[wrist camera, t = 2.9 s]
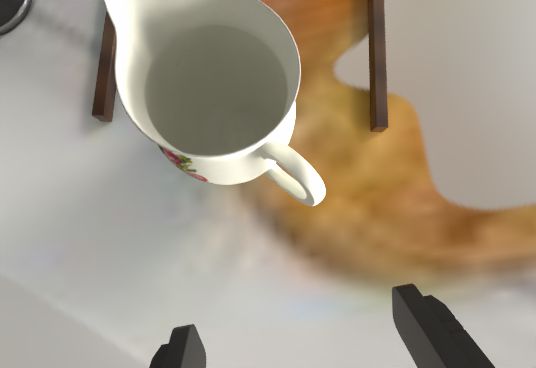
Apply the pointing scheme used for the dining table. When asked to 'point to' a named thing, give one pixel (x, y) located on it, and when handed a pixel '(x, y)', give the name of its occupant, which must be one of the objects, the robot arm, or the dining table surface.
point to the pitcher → (214, 88)
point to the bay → (376, 64)
